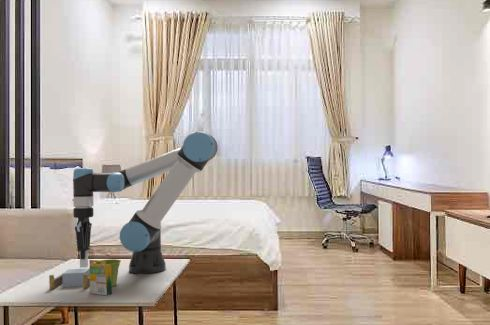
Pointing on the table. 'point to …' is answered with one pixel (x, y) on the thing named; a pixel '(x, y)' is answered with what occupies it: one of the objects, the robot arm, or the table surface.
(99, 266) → the crayon box
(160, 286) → the table surface
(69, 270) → the block
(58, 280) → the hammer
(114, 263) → the plant pot
